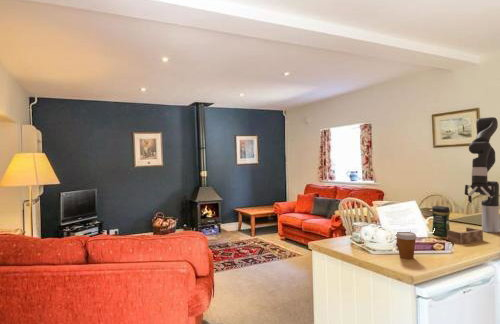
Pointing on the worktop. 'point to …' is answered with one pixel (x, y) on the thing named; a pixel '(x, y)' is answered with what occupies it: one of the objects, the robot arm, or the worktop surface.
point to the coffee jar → (440, 220)
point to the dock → (465, 236)
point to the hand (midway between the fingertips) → (479, 203)
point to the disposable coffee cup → (406, 244)
